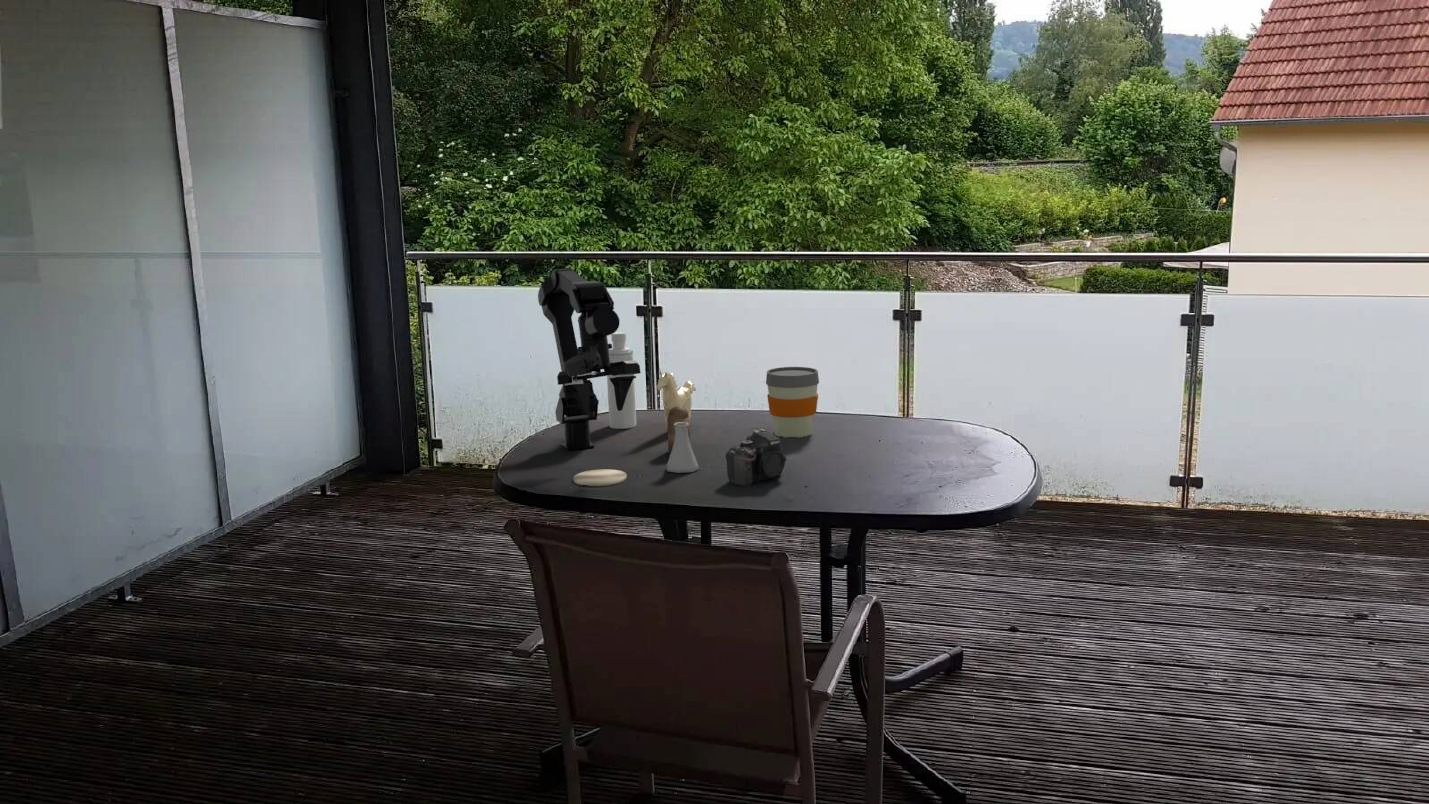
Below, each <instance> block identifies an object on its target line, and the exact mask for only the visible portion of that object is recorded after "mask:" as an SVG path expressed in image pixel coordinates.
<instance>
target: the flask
mask: <svg viewBox="0 0 1429 804" xmlns="http://www.w3.org/2000/svg"><path fill="white" fill-rule="evenodd" d="M688 426H689V424H688V423H686V422H677V423H675V424H674V427H675V432H676V433H675V441H674V444H673V448H672V451H671V453H670V455H669V458H668V461H667V464H666V467H665V468H666V471H667V472H669V473H675V474H676V473H677V474H681V473H694V472H695V471H698V470H700V467H699V464H698V461H697V459H696V456H695V453H694V451H693V447H692V445H691V441H690V442H689V437H688Z"/></svg>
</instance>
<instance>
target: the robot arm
mask: <svg viewBox="0 0 1429 804" xmlns="http://www.w3.org/2000/svg"><path fill="white" fill-rule="evenodd" d="M610 294H611V293H609V291H608V289H607V287H606V286H605V285H604V283H603V282H602V281H596V280H594V281H592V280H586V279H585V278H583V276H581V275H580V274H579V273H577V272H576V270H575V269H572V268H569V267H568V268H558V269H557V268H556V269H555V270H552V271H551V274H550V276H549V277H548V278H546V279H544V281H542V282H541V284H540V286H539V289H538V293H537V300H538V304H539V306H540V307H541V309H542V314H543V316H544V317H546V320H548V321H549V322H550V324H552V328H553V334H554V339H555V343H556V349H557V354H558V360H559V365H560V369H561V371H559V372H558V374H557V377H556V378H557V379H556V380H557V385H558V386H559V385H562V386H561V389H560V391H559V394H558V400H557V405H556V407H555V412H554V413H555V418H556V421H557V422H558V423H560V424H561V425H564V440H565V441H563V442H561V446H562V447H563V448H564V449H565V450H567V451H573V450H581V449H589V448H591V449H592V448H595V444H594V443H593V442H592V441H591V433H590V421H597V420H598V419H597V418H598V411H599V409H598V408H599V401H600V400H599V399H598V397H597V395H596V393H595V392H594V385H593V382H592V381H591V379H594V378H595V379H596V378H599V377H600V378H602V377H607V376H608V375H612V376H615V378H609V379H610V381H611V382H612V384H613V385H614V391H615V399H616V405H617V410H618V411H622V409H623V406H624V403H625V399H626V396H627V393H628V390H629V388H630V386H631V383H632V381H633V379H634V380H635V379H637V375H638V374H641V367H640V364H639V363H638V362H637V360H633V361H621V362H615V363H610V356H609V349H612V348H613V343H608V342H609V341H608V336H611V334H613V333H614V332H616V331H618V329H619V328H620V327H619V326H620V317H619V316H618V314H617V312H616V311H615V307H614V305H615V302H614V300H613V299H612V297H611V295H610ZM574 312H575V313H576V314H580V315H579V316H578V319H577V323H578V328H579V331H578V332H579V337H580V344H581V345H580V346H577V343H578V342H577V339H576V334H575V330H574V325H573V324H574V323H573V319H572V316H573V314H574ZM602 370H603V371H602Z"/></svg>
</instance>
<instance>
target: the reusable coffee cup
mask: <svg viewBox="0 0 1429 804" xmlns="http://www.w3.org/2000/svg"><path fill="white" fill-rule="evenodd" d="M819 378H820V377H819V370H818V369H816V368H813V367H805V366H783V367H781V366H780V367H775V368H770V369H768V370H767V371H766V379H765V384H766V385H767V390H768V391H767V392H768V393H767V395H766V397H767V403H768V411H769V415H771V417H772V419H771V420H772V424H773V432H774V435H775V436H777V435H778V436H777V437H780V436H783V437H782V438H787V437H797V438H804V437H803V436H805V437H808V436H807V435H809V436H811V435H812V434H813V426H814V421H815V420H814V418H815V414H817V409H818V408H817V407H818V401H819V400H818V399H819V393H817V392H818V384H820V379H819Z"/></svg>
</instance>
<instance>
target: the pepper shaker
mask: <svg viewBox="0 0 1429 804" xmlns="http://www.w3.org/2000/svg"><path fill="white" fill-rule="evenodd" d="M677 422H686V423H688V424H689V426H688V437H689V442H690V443H691V424H690V423H691V419H690V420H689V416H688V412H687V410H686V409H685V408H684V407H682V406H675V407H673V408H671V409H670V411H669V413H668V417H667V426H666V427H667V444H668V447H667V448H668V454H671V451H672V448H673V444H674V441H675V433H676V432H675V427H674V424H675V423H677Z"/></svg>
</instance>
